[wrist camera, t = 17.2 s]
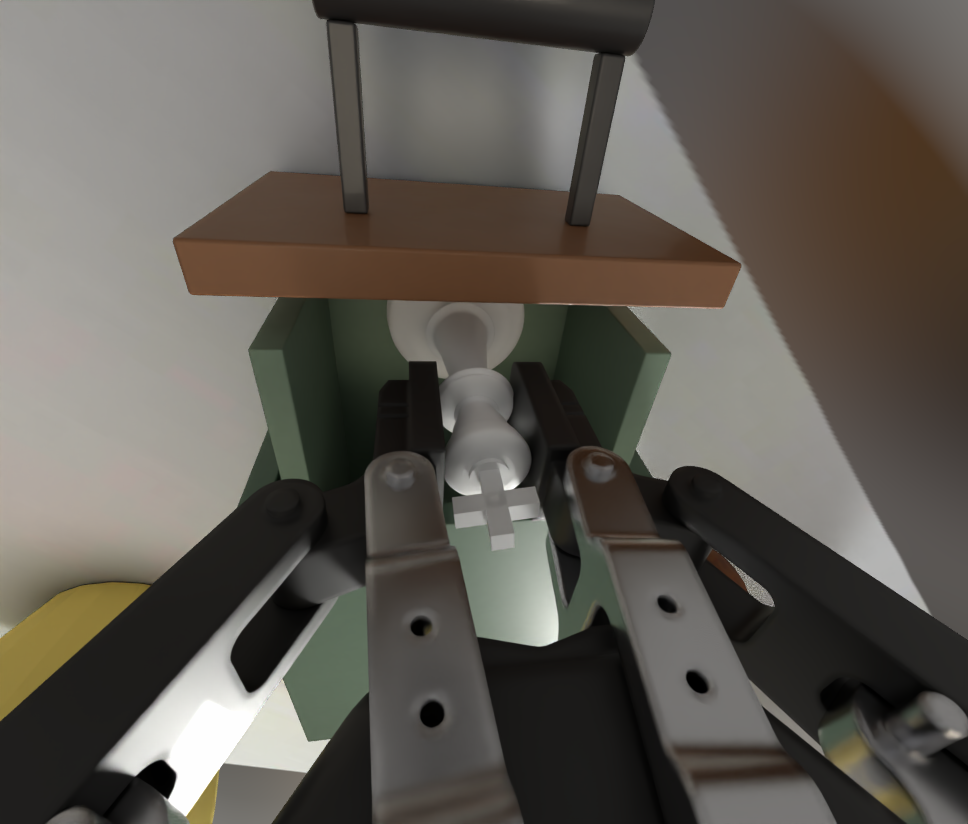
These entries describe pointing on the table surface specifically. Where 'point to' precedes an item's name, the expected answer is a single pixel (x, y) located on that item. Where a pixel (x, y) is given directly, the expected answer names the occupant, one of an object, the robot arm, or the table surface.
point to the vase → (70, 651)
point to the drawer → (450, 253)
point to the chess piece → (473, 406)
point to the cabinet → (491, 592)
